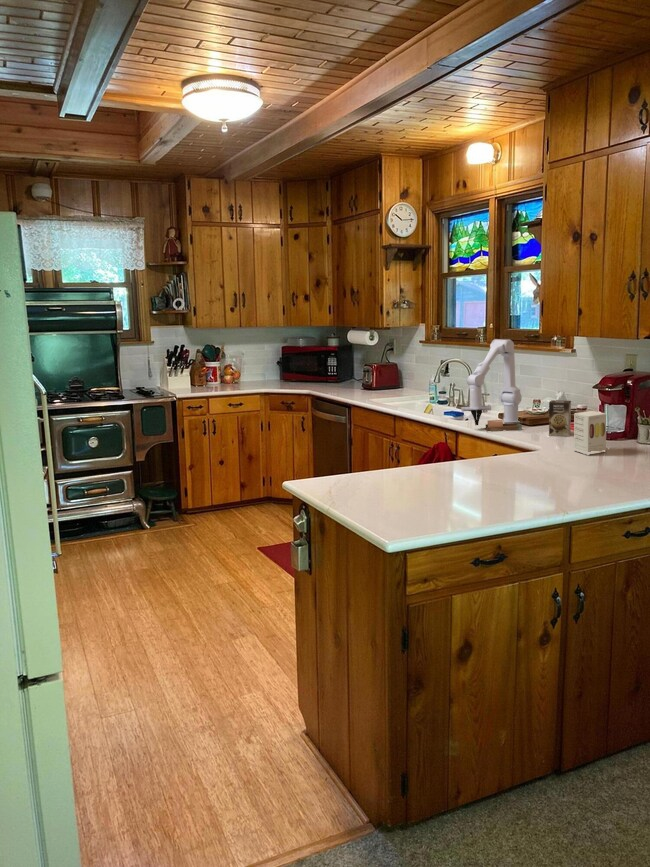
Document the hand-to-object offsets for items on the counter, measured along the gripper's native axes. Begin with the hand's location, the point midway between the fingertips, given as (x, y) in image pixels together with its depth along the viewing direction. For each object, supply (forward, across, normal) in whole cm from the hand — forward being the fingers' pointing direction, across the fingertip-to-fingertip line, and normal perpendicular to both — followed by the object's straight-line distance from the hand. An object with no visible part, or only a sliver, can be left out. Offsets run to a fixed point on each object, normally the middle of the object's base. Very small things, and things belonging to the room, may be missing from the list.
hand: (476, 424), depth 351 cm
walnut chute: (+3, +13, 0) cm, 13 cm away
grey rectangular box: (+3, +37, -18) cm, 41 cm away
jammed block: (+3, +9, 0) cm, 10 cm away
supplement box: (+3, +43, -52) cm, 68 cm away
